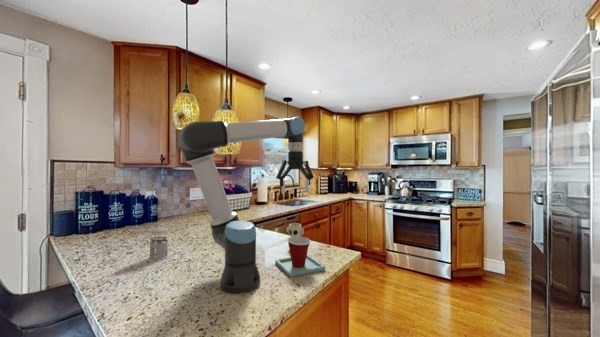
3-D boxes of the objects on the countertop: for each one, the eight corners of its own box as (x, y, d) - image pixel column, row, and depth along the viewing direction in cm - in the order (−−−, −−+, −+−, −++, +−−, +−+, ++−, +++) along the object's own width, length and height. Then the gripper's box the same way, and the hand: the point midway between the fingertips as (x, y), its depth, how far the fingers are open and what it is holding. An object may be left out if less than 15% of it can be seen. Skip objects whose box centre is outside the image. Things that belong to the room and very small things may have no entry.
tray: (290, 277, 100) (290, 273, 100) (275, 263, 115) (275, 259, 115) (325, 270, 107) (325, 266, 107) (307, 257, 122) (307, 254, 122)
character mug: (283, 247, 138) (283, 225, 138) (289, 244, 144) (289, 222, 144) (301, 250, 133) (301, 226, 133) (306, 246, 140) (306, 224, 140)
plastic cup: (304, 272, 104) (304, 244, 104) (282, 267, 108) (282, 240, 108) (314, 263, 114) (314, 237, 114) (293, 259, 118) (293, 235, 118)
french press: (152, 263, 115) (152, 210, 115) (142, 257, 122) (142, 207, 122) (173, 257, 123) (173, 207, 123) (163, 252, 130) (163, 205, 130)
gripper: (275, 149, 116) (275, 194, 116) (320, 151, 127) (320, 192, 127) (270, 150, 122) (269, 192, 122) (313, 152, 134) (312, 191, 133)
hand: (295, 192), depth 125 cm, fingers open, 13 cm apart
